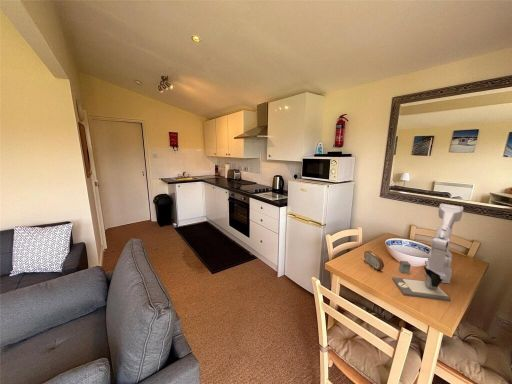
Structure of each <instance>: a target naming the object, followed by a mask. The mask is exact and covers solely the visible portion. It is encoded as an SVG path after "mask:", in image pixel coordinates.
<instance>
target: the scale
mask: <svg viewBox="0 0 512 384" xmlns="http://www.w3.org/2000/svg"><path fill="white" fill-rule="evenodd" d="M391 279H392V281H393V283H394V284H395V285H396V287H397V288H398V289H399V291H400V293H401V294H402V295H403V296H407V297H414V298H423V299H431V300H438V301H440V300H441V301H445V302H447V301H448V302H451V297H449V295H448V294H447V293H446V292H444V290H442V288H440V287H439V286H438V289H430V288H428V287H427V286H426V285H425V280H422V279H421V280H419V279H412V278H411V279H410V278H404V277H396V276H395V277H392V278H391Z"/></svg>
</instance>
